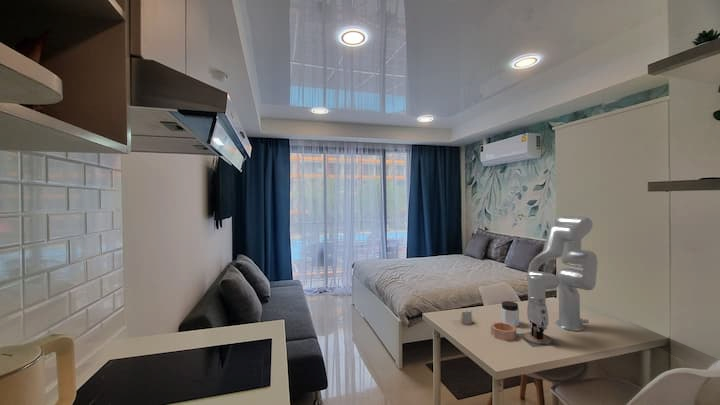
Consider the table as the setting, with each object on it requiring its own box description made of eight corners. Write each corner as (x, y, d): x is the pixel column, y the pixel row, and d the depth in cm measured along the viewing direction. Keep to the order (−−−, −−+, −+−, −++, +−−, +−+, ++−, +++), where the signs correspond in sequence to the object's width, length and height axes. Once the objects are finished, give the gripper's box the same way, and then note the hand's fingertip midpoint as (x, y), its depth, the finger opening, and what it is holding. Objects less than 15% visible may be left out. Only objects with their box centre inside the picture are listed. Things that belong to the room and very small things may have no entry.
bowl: (508, 331, 164) (507, 321, 163) (520, 340, 153) (520, 330, 152) (487, 332, 163) (487, 323, 163) (498, 342, 152) (498, 332, 152)
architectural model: (459, 322, 177) (459, 310, 177) (471, 322, 178) (470, 309, 178) (462, 325, 174) (461, 312, 174) (473, 324, 174) (473, 311, 174)
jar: (512, 329, 165) (512, 307, 165) (498, 324, 172) (498, 303, 172) (521, 325, 170) (521, 303, 170) (507, 320, 177) (507, 299, 177)
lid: (540, 333, 159) (540, 321, 159) (557, 344, 147) (557, 331, 147) (518, 334, 158) (518, 322, 158) (533, 345, 146) (533, 333, 146)
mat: (541, 333, 160) (541, 332, 160) (560, 346, 146) (560, 345, 146) (515, 334, 159) (515, 333, 159) (532, 348, 145) (532, 346, 145)
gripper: (555, 305, 144) (556, 344, 145) (533, 294, 161) (534, 329, 161) (540, 306, 144) (540, 345, 144) (519, 295, 160) (520, 330, 161)
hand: (537, 336), depth 153 cm, fingers closed on lid, 3 cm apart
